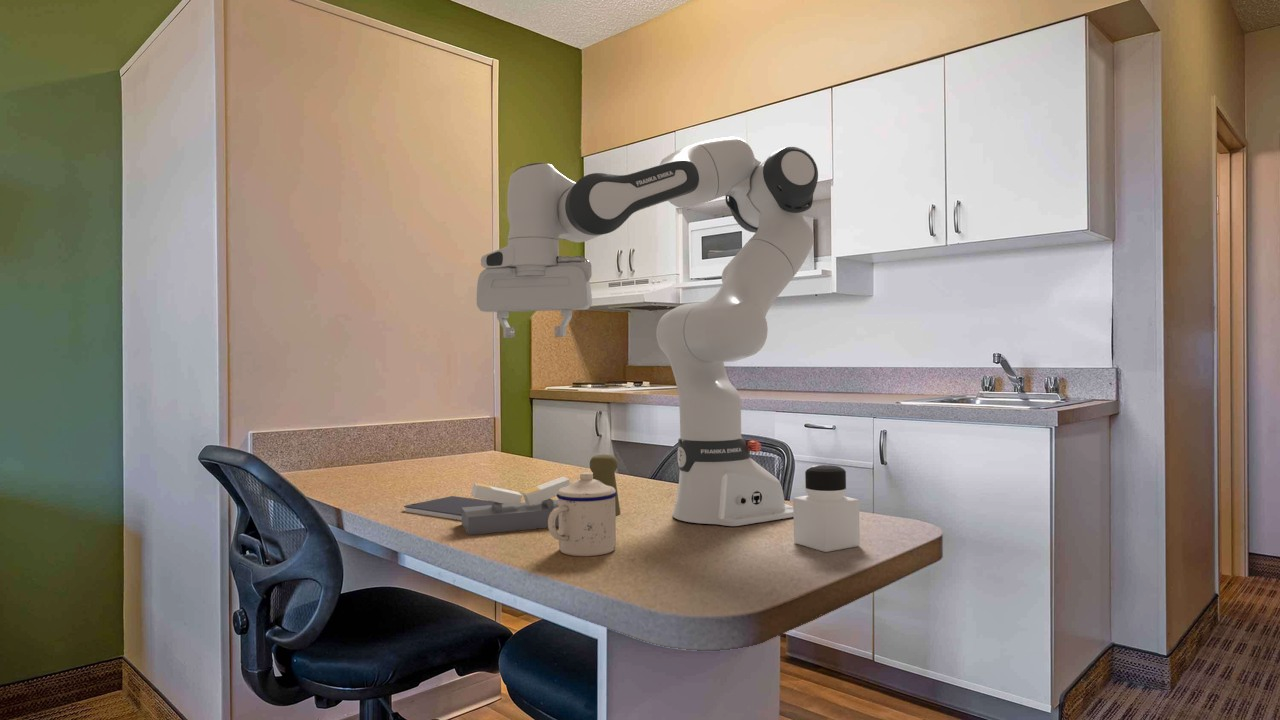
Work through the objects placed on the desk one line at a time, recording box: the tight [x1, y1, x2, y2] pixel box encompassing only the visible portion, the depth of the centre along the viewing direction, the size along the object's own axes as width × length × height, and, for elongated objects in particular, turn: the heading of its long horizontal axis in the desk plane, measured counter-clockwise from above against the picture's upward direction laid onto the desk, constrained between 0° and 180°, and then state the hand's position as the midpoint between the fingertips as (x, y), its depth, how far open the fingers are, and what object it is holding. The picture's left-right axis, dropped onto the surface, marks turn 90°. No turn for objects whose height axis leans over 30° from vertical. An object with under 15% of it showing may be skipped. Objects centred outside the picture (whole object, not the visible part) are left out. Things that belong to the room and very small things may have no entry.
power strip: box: [461, 498, 559, 536], centre depth 138 cm, size 26×9×4 cm, turn 110°
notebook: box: [403, 495, 503, 521], centre depth 150 cm, size 13×2×21 cm
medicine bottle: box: [792, 464, 861, 553], centre depth 118 cm, size 7×7×12 cm
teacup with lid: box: [547, 472, 617, 557], centre depth 117 cm, size 12×9×12 cm
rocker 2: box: [521, 476, 572, 506], centre depth 138 cm, size 8×4×2 cm, turn 110°
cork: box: [589, 453, 621, 516], centre depth 145 cm, size 6×6×11 cm
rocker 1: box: [470, 482, 523, 507], centre depth 135 cm, size 8×4×2 cm, turn 110°
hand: (534, 337), depth 135 cm, fingers open, 8 cm apart
